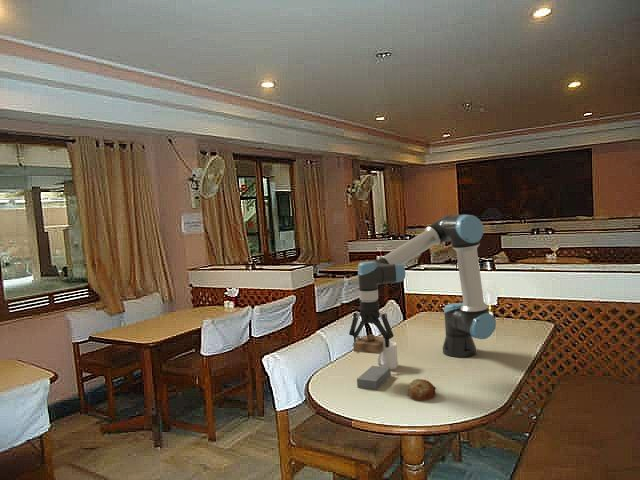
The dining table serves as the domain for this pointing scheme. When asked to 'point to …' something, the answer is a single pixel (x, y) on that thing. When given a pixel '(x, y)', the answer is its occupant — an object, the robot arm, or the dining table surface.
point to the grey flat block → (373, 377)
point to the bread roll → (421, 390)
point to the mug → (389, 357)
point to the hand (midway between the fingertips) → (372, 353)
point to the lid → (369, 344)
